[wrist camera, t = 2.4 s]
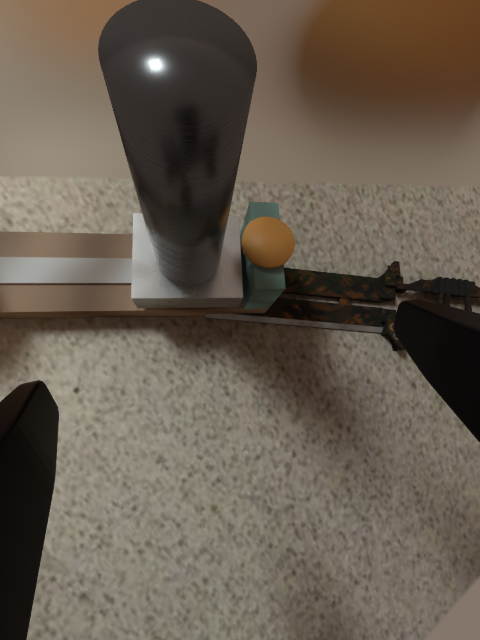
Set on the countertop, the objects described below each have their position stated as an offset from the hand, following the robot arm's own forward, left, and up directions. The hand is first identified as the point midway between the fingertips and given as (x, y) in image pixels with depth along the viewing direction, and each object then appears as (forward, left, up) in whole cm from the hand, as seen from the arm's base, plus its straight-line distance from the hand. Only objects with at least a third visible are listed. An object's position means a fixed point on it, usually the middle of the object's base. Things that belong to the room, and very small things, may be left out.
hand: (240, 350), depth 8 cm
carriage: (+3, -6, -11) cm, 13 cm away
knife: (-8, -7, -14) cm, 18 cm away
